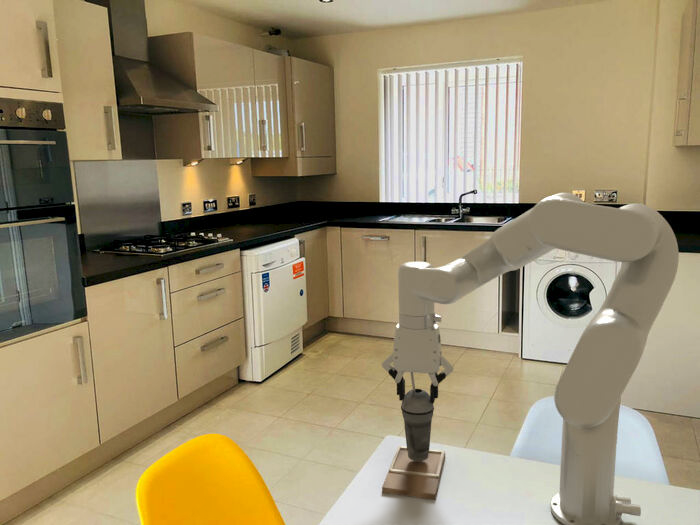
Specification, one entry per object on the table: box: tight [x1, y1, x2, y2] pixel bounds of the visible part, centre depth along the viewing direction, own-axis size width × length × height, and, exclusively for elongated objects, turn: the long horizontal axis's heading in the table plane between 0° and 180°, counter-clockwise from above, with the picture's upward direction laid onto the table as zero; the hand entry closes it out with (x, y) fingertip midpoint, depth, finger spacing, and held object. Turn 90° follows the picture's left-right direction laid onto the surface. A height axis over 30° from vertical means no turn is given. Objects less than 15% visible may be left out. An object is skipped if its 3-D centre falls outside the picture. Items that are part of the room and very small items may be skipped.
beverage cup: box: [400, 372, 435, 461], centre depth 129 cm, size 7×7×20 cm
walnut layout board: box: [381, 445, 446, 500], centre depth 128 cm, size 11×17×2 cm, turn 164°
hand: (417, 398), depth 128 cm, fingers closed on beverage cup, 6 cm apart
